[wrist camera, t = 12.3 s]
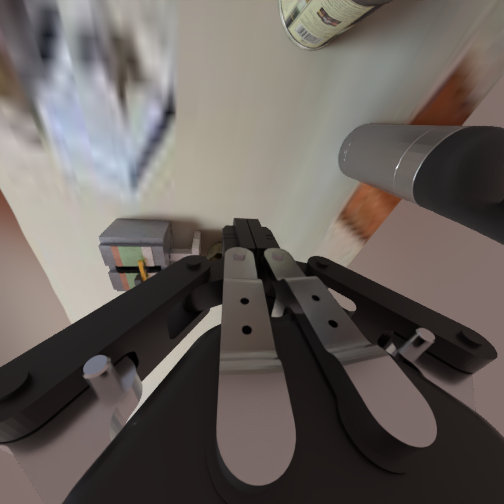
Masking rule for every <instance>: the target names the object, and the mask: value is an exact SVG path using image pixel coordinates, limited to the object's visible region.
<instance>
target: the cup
mask: <svg viewBox="0 0 504 504" xmlns="http://www.w3.org/2000/svg"><path fill="white" fill-rule="evenodd" d="M206 258H207V259H208V260H209V261H210V262H213V261H216V260H219V259H221V258H222V242H219V243H217V244H215V245H213V246H212V247H211V248H210V249H209V251H208V253H207V256H206Z"/></svg>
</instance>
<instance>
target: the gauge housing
mask: <svg viewBox="0 0 504 504" xmlns="http://www.w3.org/2000/svg"><path fill="white" fill-rule="evenodd" d="M99 239H100V242H101V244H100V245H99V249H100V251H101V254H102V257H103V260H104V263H105V265H106V266H109V268H110V271H109V272H108V274H109V277H110V280H111V282H112V285H113V288H114V290H117V291H128V290H130V289H132V288H133V287H135V283H134V279H135V277H136V275H141V273H140V269H139V265H138V260H143V264H144V266H149V268H148V270H147V273H146V277H147V279H148V278H150V277H152V276H153V275H155V274H157V273H158V272H160V271H162V270H163V269H165V268H167V267H168V266H170V265H172V264H173V263H175V261H169V254H168V252H169V250H170V249H173V241H172V233H171V224H170V221H158V220H133V219H116V220H115V221H114V222H113V223H112V224H111V225H110V226H109V227H108V228H107V229H106V230H105V231H104V232H103V233H102V234H101V235H100V236H99Z"/></svg>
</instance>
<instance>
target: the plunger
mask: <svg viewBox="0 0 504 504" xmlns="http://www.w3.org/2000/svg"><path fill="white" fill-rule="evenodd" d="M168 254H169V261H178V260H180V259H181V258H183V257H186V256H189V255H200V256H201V231H195V233H194V239H193V245H192V249H170V250H169V252H168ZM138 265H139V269H140V273H141V277H142V281H145V280H147V277H146V273H147V270H148V268H149V266H144V264H143V260H138Z"/></svg>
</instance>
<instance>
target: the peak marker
mask: <svg viewBox="0 0 504 504" xmlns="http://www.w3.org/2000/svg"><path fill="white" fill-rule="evenodd" d="M142 282H143V281H142V277H141V275H136V277H135V279H134V283H135V286H137V285H138V284H140V283H142Z"/></svg>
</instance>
